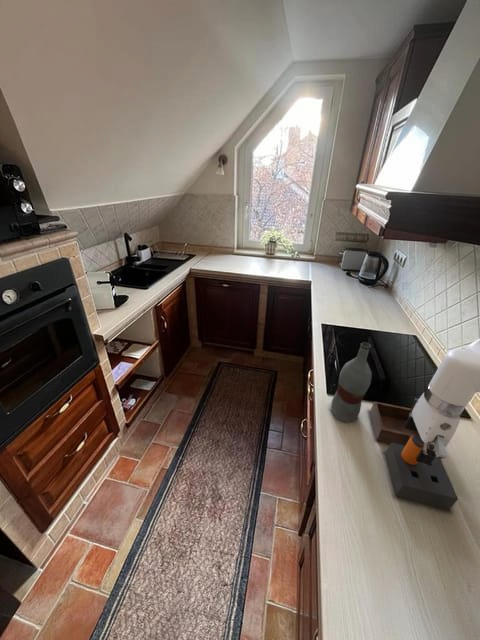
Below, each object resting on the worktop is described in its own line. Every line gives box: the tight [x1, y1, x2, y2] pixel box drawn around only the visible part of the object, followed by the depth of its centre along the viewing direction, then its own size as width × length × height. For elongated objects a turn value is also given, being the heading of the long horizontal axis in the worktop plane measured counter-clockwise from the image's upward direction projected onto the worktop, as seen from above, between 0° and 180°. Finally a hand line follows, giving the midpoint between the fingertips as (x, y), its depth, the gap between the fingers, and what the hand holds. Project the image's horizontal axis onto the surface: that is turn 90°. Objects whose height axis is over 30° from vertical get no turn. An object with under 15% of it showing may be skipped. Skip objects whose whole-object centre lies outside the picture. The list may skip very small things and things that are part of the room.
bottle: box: [330, 341, 373, 423], centre depth 83 cm, size 9×9×30 cm
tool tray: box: [369, 401, 435, 451], centre depth 83 cm, size 16×12×6 cm
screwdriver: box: [401, 435, 424, 465], centre depth 70 cm, size 4×4×13 cm
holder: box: [384, 443, 459, 511], centre depth 69 cm, size 12×12×6 cm
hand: (415, 444), depth 67 cm, fingers open, 9 cm apart
